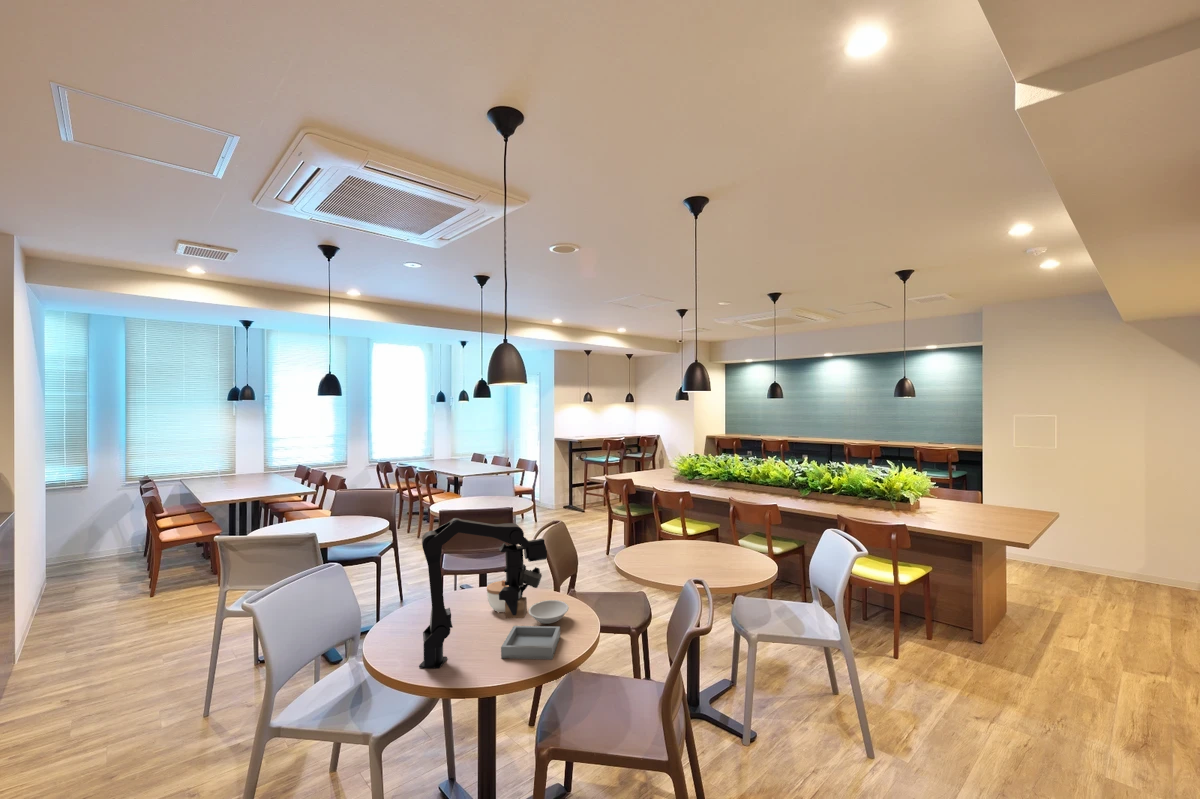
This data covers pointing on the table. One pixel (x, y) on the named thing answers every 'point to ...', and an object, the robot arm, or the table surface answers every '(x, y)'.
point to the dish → (548, 611)
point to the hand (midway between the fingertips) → (516, 612)
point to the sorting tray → (531, 642)
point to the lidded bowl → (496, 595)
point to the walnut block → (520, 609)
